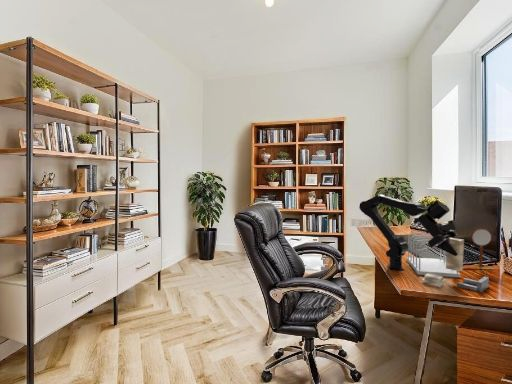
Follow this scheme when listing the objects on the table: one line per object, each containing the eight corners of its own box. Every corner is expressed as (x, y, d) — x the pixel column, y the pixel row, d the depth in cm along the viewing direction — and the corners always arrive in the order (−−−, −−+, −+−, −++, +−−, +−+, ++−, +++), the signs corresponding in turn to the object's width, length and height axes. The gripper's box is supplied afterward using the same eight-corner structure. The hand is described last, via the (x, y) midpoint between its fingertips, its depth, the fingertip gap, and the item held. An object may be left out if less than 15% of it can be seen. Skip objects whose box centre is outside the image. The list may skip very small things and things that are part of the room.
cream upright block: (445, 268, 130) (447, 238, 130) (449, 266, 133) (450, 237, 132) (459, 271, 126) (460, 240, 126) (462, 269, 129) (463, 239, 128)
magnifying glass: (471, 268, 147) (472, 228, 146) (469, 267, 149) (470, 227, 147) (491, 269, 145) (492, 228, 144) (489, 268, 146) (491, 228, 145)
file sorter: (460, 278, 135) (461, 244, 134) (417, 275, 140) (418, 242, 139) (442, 262, 159) (442, 233, 158) (406, 260, 164) (406, 232, 163)
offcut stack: (422, 283, 130) (422, 275, 130) (426, 280, 133) (426, 272, 133) (439, 287, 125) (440, 279, 125) (444, 284, 128) (444, 276, 128)
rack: (456, 286, 125) (457, 277, 125) (464, 281, 131) (464, 272, 130) (481, 292, 118) (481, 282, 118) (488, 286, 124) (488, 277, 124)
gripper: (436, 216, 125) (466, 247, 117) (453, 212, 137) (482, 240, 129) (416, 232, 132) (444, 262, 124) (434, 227, 144) (460, 254, 136)
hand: (458, 254), depth 128 cm, fingers closed on cream upright block, 4 cm apart
